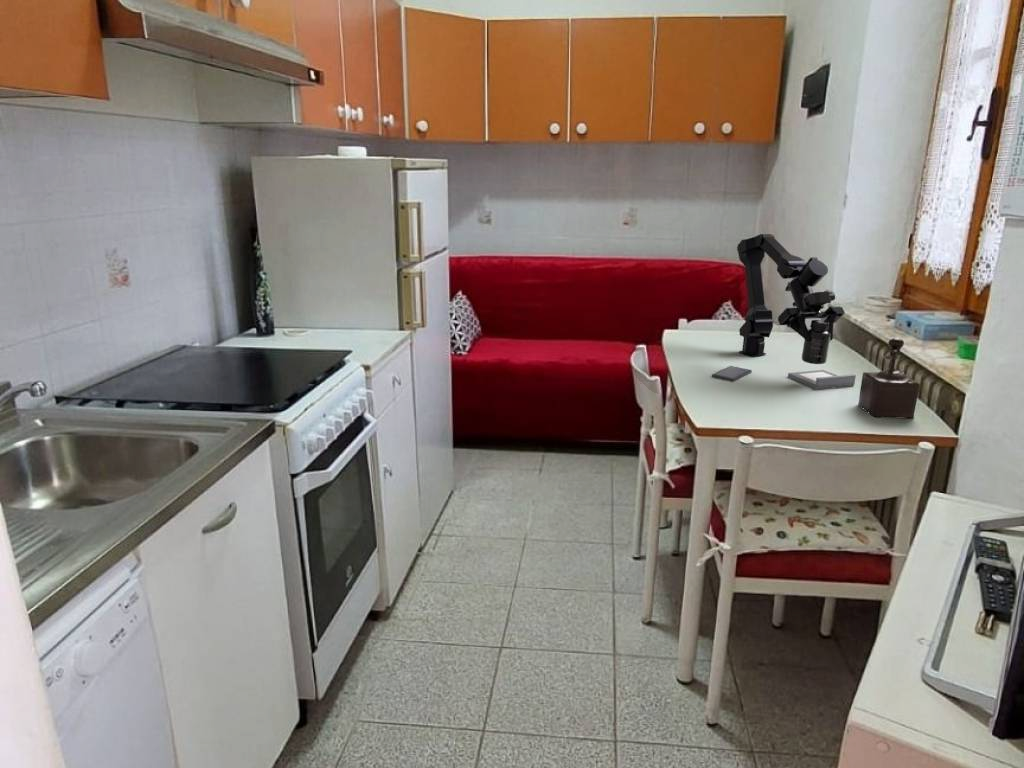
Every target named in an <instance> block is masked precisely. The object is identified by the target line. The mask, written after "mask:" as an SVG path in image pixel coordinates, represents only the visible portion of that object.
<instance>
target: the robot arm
mask: <svg viewBox="0 0 1024 768" xmlns="http://www.w3.org/2000/svg"><path fill="white" fill-rule="evenodd" d="M736 250H737V253H738V259H739V261H740V262H741V263H742V265H743V266H744V267H745V268H744V269H745V276H746V287H747V297H748V306H749V307H748V308H749V309H748V311H747V313H746V315H745V317H744V318H745V321H744V323H743V324H742V326H740V328H739V329H738V331H739V336H741V337H743V340H742V349H741V350H738V353H740V354H743V355H745V356H748V357H752V358H753V357H760V356H766V355H767V353H766V352H765V344H766V343H765V338H770V337H771V333H772V330H773V327H774V319H773V311H772V310H770V309H768V308H767V307H766V302H765V294H764V286H763V285H764V284H763V275H762V262H763V260H764V258H765V256H766V255H767V256H768V257H769V258H770V259H771V260H772V261H773V262H774V263H775V265H776V271H777V272H778V274H779V276H780V277H781V278H782V279H784V280H786V279H787V280H788V279H789V280H790V279H791V280H790V281H789V282H787V285H786V287H785V289H784V291H785V292H791V293H790V294H791V295H792V299H793V302H792V307H786V308H785V309H784V310H783V311H782V312H781V313H780V314H779V315H778V317H777V322H778V325H779V326H786V327H787V328H790V329H791V330H793V331H794V332H796V333H797V334H798V335H800V337H802V338H803V339H804V340H806V341H808V342H809V341H810V340H811V339H810V335H809V332H808V330H809V329H808V327H807V324H806V320H810V319H811V320H818V319H819V320H823V321H827V322H829V328H828V329H827V331H829V332H830V334H831V338H830V342H831V341H832V340H833V338H834V337H833V335H834V324H835V323H837V321H838V320H840V319H841V318H842V317H843V316H844V315H845V309H844V308H843V307H842V306H839V305H837V306H835V305H834V306H829V307H827V309H825V311H821V310H823V308H825V305H827V304H831V303H832V301H835V299H836V295H835V292H834V290H833V289H826V290H825V291H816V292H814V291H813V288H812V287H816V286H817V284H819V282H820V281H821V280H822V279H823V278H825V276H826V275H828V273H829V272H828V271H829V269H828V266H827V265H826V264H825V263H824V262H823V261H821V260H819V259H818V257H817V256H816V257H815V256H813V257H810V258H808V260H807V261H806V260H805V259H803V258H801V257H799V256H798V255H793V254H791V253H790V252H789V251H788V250H787V249H786V248H785V247H784V246H783V245H782V244H781V243H780V242H779V241H778V240H777V239H776V238H775V236H774V234H771V233H762V234H761V233H760V234H758V235H755V236H754V237H749V238H746V239H743V238H742V239H741V241H740V242H739V243H738V244H737V247H736ZM765 254H766V255H765Z"/></svg>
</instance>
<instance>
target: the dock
mask: <svg viewBox="0 0 1024 768" xmlns="http://www.w3.org/2000/svg"><path fill="white" fill-rule="evenodd" d="M787 373H788V374H787V377H788V378H790V379H792V380H794V381H796V382H799V383H802V384H804V385H807V386H808V385H809V387H811V388H812V389H813V388H814V389H816V390H826V389H825V388H828V389H833V388H832V387H838V388H842V387H841V386H847V387H851V386H850V385H854V386H855V381H856V377H857V375H856V374H852V373H851V374H843V375H842V374H841V375H837V374H836V373H832V372H829V371H827V370H824V369H820V370H818V369H817V370H808V371H797V372H787Z"/></svg>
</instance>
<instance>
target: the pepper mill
mask: <svg viewBox="0 0 1024 768" xmlns="http://www.w3.org/2000/svg"><path fill="white" fill-rule="evenodd" d="M904 344H905V342H904V340H903V339H902V338H899V337H898V338H897V337H893V338H891V339H889V340H888V346H889V347H890V352H889V354H888V355H883V356H882V359H884V360H889V361H891V362H890V367H889V369H888V368H887V369H883V370H880V371H879V372H877V371H876V372H873V371H872V372H871V371H869V372H867V371H866V372H865V371H864V372H863V373H862V376H861V377H862V379H861V382H860V383H861V384H860V390H859V396H858V397H859V398H858V406H859V405H860V406H861V407H862V408H864V409H865V410H866V411H867V412H869V413H870V414H871V416H872V415H873V416H876V417H875V418H882V417H906V418H905V419H914V418H915V411H916V406H917V400H918V397H919V392H920V391H919V390H920V383H918V382H917V381H915V380H914V379H913V377H911V376H910V375H908V374H906V373H907V370H906V369H905V370H903V371H900V370H898V369H896V368H895V367H896V366H895V365H896V361H897V360H898V356H901V349H902V348H903V347H904ZM860 406H859V407H860ZM861 407H860V408H861ZM862 408H861V409H862ZM864 409H863V410H864ZM865 410H864V411H865ZM866 411H865V412H866ZM867 412H866V413H867ZM869 413H868V414H869ZM870 414H869V415H870ZM873 416H872V417H873Z"/></svg>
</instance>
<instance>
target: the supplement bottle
mask: <svg viewBox="0 0 1024 768" xmlns="http://www.w3.org/2000/svg"><path fill="white" fill-rule="evenodd" d="M810 321H811V322H810V325H809V326H810V328H809V329H808V332H809V335H810V339H811V340H810V341H809V342H808V341H806V340H805V339H804V340H803V347H802V354H801V361H803V362H804V363H807V364H813V365H824V364H825V363H827V359H828V356H829V355H828V354H829V349H830V343H831V341H830V338H831V334H830V332H829V331H827V329H828V328H829V322H827V321H823V320H821V319H811V320H810Z"/></svg>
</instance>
